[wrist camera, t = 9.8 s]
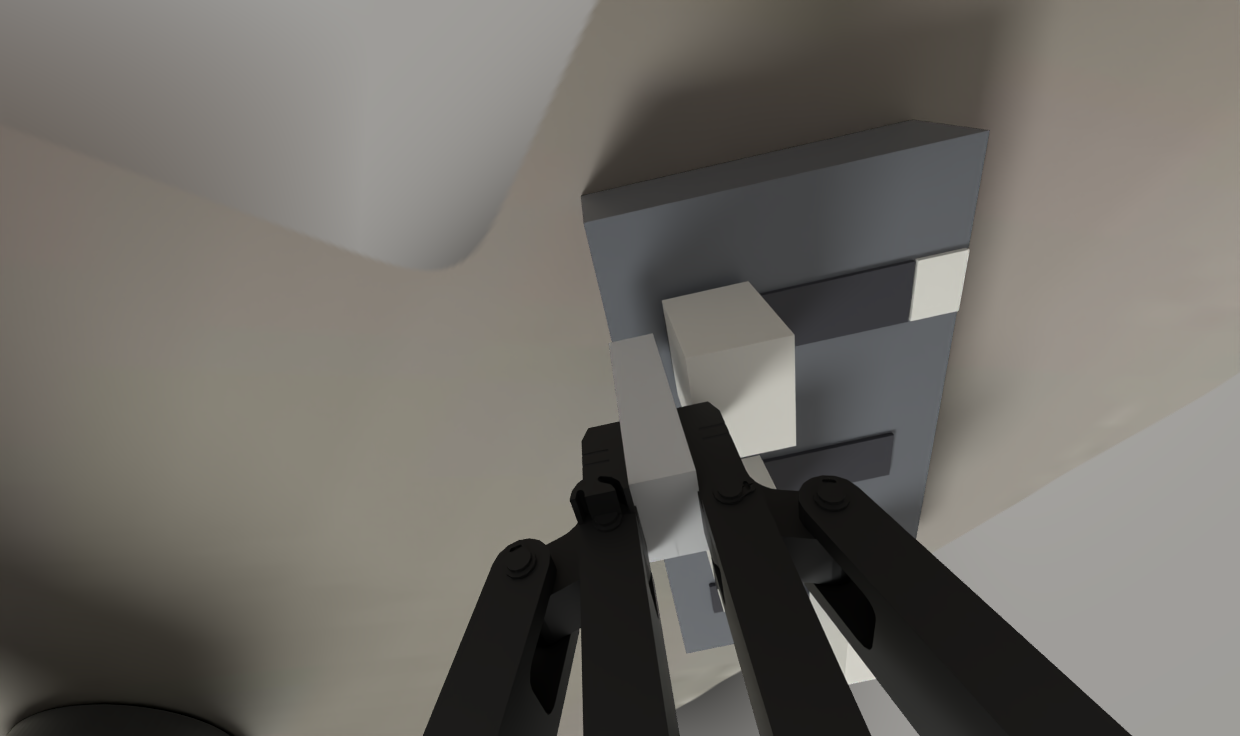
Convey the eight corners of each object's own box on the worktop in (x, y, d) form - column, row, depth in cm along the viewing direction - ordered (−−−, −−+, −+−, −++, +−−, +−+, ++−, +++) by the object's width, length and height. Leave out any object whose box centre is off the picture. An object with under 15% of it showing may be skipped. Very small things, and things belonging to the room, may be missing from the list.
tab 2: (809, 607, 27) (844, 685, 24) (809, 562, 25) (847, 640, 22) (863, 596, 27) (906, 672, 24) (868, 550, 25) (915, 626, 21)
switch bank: (674, 592, 33) (687, 656, 29) (580, 196, 19) (583, 224, 16) (867, 552, 32) (905, 612, 29) (912, 119, 19) (994, 131, 15)
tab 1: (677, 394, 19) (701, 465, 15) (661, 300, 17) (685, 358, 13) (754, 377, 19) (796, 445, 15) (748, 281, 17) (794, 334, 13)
